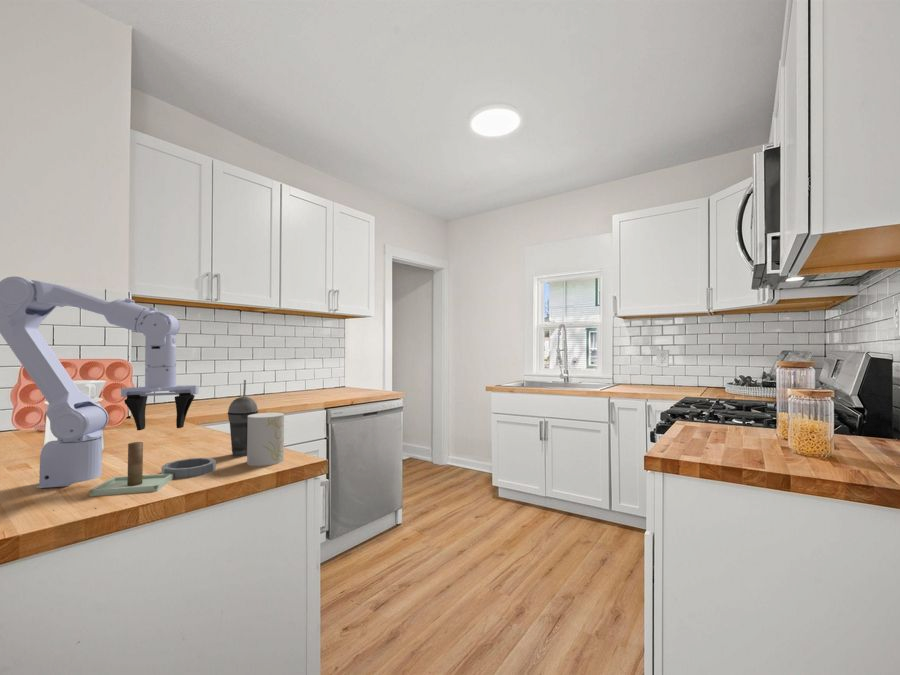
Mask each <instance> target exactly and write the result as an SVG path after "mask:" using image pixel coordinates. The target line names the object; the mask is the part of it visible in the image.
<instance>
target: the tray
mask: <svg viewBox="0 0 900 675" xmlns="http://www.w3.org/2000/svg"><path fill="white" fill-rule="evenodd" d="M127 480H128V475H125V476H113V477H112V478H110V479H108V480H106V481H104V482H103V483H101V484H99V485H97V486H95V487H93V488H92V489H90V490H89V497H97V496H98V497H99V496H110V495H111V496H112V495H124V494H137V493H149V492H151V493H152V492H159V491H160V490H162V488H164V487H165V486H167V484H168V483H170V482H171V481H173V480H174V473H167V474H161V473H155V474H154V473H153V474H143V477H142V484H140V485H136V486H128V485H127Z"/></svg>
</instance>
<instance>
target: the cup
mask: <svg viewBox="0 0 900 675" xmlns="http://www.w3.org/2000/svg"><path fill="white" fill-rule="evenodd" d="M284 456H285V413H282V412H261V413H259V412H258V414H252V415H248V427H247V456H246V460H247V461H246V464H247V465H248V466H252V467H268V466H274V465H278V464H281V463H284V460H285V457H284Z"/></svg>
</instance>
